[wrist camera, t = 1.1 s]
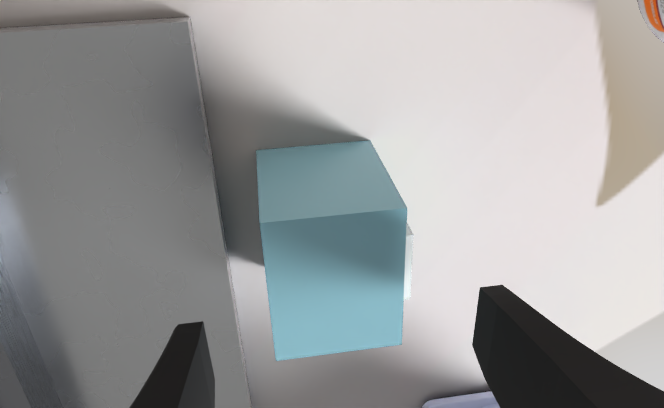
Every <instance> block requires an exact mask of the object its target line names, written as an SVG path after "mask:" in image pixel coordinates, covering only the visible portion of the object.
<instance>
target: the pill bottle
mask: <svg viewBox="0 0 664 408" xmlns="http://www.w3.org/2000/svg"><path fill="white" fill-rule="evenodd" d="M637 2H638V5H639V9H640V12H641V14H642V16H643V18H644V20H645V22H646V24H647V26H648V27H649V29H650V30H651V31H652V32H653V33H654V35H656V37H658V39H660V40H661V41H662V42H664V0H637Z"/></svg>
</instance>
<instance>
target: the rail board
mask: <svg viewBox="0 0 664 408" xmlns="http://www.w3.org/2000/svg"><path fill="white" fill-rule="evenodd" d="M201 321H203V323H204V327H205V332H206V337H207V342H208V347H209V352H210V357H211V362H212V367H213V372H214V377H215V408H252V404H251V398H250V392H249V385H248V379H247V373H246V366H245V360H244V354H243V347H242V341H241V335H240V328H239V322H238V316H237V309H236V303H235V297H234V291H233V284H232V278H231V272H230V265H229V259H228V253H227V246H226V240H225V234H224V227H223V221H222V215H221V208H220V202H219V196H218V189H217V183H216V177H215V170H214V164H213V158H212V152H211V145H210V139H209V133H208V126H207V120H206V114H205V107H204V101H203V95H202V88H201V82H200V76H199V69H198V63H197V57H196V50H195V44H194V38H193V31H192V25H191V19H190V17H177V18H161V19H144V20H127V21H110V22H94V23H77V24H60V25H43V26H26V27H10V28H0V408H129V407H130V406H131V404H132V403H133V402H134V400H135V399H136V397H137V395H138V394H139V392H140V391H141V389H142V387H143V386H144V384H145V382H146V381H147V379H148V377H149V376H150V374H151V372H152V371H153V369H154V367H155V365H156V364H157V362H158V360H159V358H160V356H161V355H162V353H163V351H164V349H165V347H166V345H167V343H168V341H169V339H170V337H171V335H172V333H173V331H174V329H175V327H176V326H177V325H178V324H184V323H193V322H201Z"/></svg>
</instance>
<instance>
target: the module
mask: <svg viewBox="0 0 664 408" xmlns="http://www.w3.org/2000/svg"><path fill="white" fill-rule="evenodd" d="M256 158H257V179H258V201H259V222H260V231H261V240H262V248H263V256H264V265H265V273H266V282H267V290H268V299H269V307H270V315H271V324H272V332H273V341H274V349H275V358H276V361H280V360H288V359H295V358H303V357H311V356H318V355H326V354H333V353H341V352H349V351H356V350H364V349H371V348H379V347H387V346H394V345H402V324H403V300H406V299H410V296H411V275H412V254H413V233H412V231H411V229H410V228H409V226H408V224H407V207H406V205H405V203H404V201H403V199H402V198H401V196H400V194H399V192H398V190H397V189H396V187H395V185H394V183H393V181H392V179H391V178H390V176H389V174H388V172H387V170H386V168H385V167H384V165H383V163H382V161H381V159H380V158H379V156H378V154H377V152H376V150H375V148H374V147H373V145H372V143H371V141H370V140H367V141H356V142H344V143H333V144H321V145H310V146H298V147H287V148H275V149H264V150H256Z"/></svg>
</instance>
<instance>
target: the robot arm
mask: <svg viewBox="0 0 664 408" xmlns="http://www.w3.org/2000/svg"><path fill="white" fill-rule="evenodd" d="M472 345H473V348H474V351H475V354H476V356H477V359H478V362H479V365H480V367H481V370H482V372H483V375H484V377H485V380H486V382H487V384H488V386H489V388H490V390H491V391H489V392H482V393H475V394H468V395H461V396H454V397H447V398H440V399H433V400H429V401H427V402H426V403H425V404H424V405H423V407H422V408H664V391H662V390H660V389H658V388H656V387H654V386H652V385H650V384H648V383H646V382H645V381H643V380H641V379H639V378H637V377H636V376H634V375H632V374H630V373H628V372H626V371H625V370H623V369H621V368H620V367H618V366H616V365H615V364H613V363H611V362H610V361H608V360H606V359H605V358H603V357H602V356H600V355H598V354H597V353H596V352H594V351H592V350H591V349H589V348H588V347H586V346H585V345H583V344H582V343H580V342H579V341H577V340H576V339H575V338H573V337H572V336H570V335H569V334H567V333H566V332H565V331H563V330H562V329H560V328H559V327H558V326H556V325H555V324H553V323H552V322H551V321H549V320H548V319H547V318H545V317H544V316H543V315H541V314H540V313H539V312H537V311H536V310H535V309H533V308H532V307H531V306H530V305H528V304H527V303H526V302H524V301H523V300H522V299H520V298H519V297H518V296H516V295H515V294H514V293H512V292H511V291H510V290H508V289H507V288H506V287H504V286H503V285H497V286H489V287H481V288H480V291H479V299H478V306H477V314H476V322H475V329H474V337H473V344H472ZM129 408H215V377H214V372H213V367H212V362H211V357H210V352H209V347H208V342H207V337H206V332H205V327H204V323H203V321H201V322H193V323H184V324H178V325H177V326H176V327H175V329H174V331H173V333H172V335H171V337H170V339H169V341H168V343H167V345H166V347H165V349H164V351H163V353H162V355H161V356H160V358H159V360H158V362H157V364H156V365H155V367H154V369H153V371H152V372H151V374H150V376H149V377H148V379H147V381H146V382H145V384H144V386H143V387H142V389H141V391H140V392H139V394H138V395H137V397H136V399H135V400H134V402H133V403H132V404H131V406H130V407H129Z"/></svg>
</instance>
